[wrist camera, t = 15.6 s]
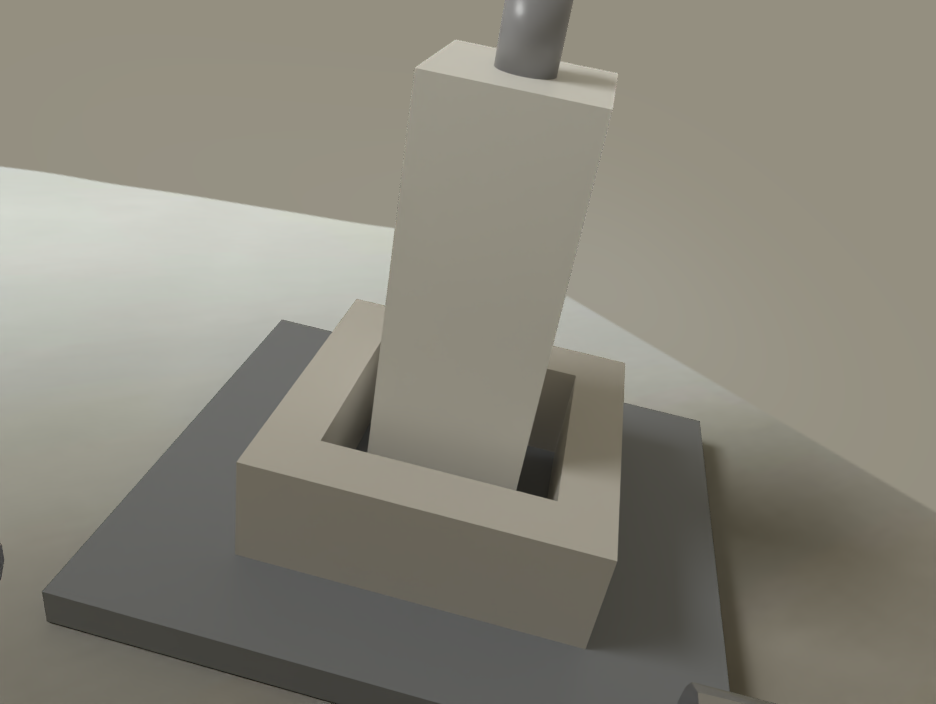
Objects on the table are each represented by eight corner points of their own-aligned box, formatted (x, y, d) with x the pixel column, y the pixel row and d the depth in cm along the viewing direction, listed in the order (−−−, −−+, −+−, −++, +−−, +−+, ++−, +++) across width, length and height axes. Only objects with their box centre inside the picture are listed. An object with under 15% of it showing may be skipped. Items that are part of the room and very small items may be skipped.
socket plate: (46, 621, 19) (25, 492, 17) (280, 342, 31) (285, 247, 29) (724, 813, 17) (793, 699, 15) (691, 442, 29) (726, 351, 27)
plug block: (359, 515, 22) (425, -20, 15) (398, 432, 25) (465, -33, 18) (500, 552, 21) (634, 22, 15) (520, 463, 25) (636, 1, 18)
